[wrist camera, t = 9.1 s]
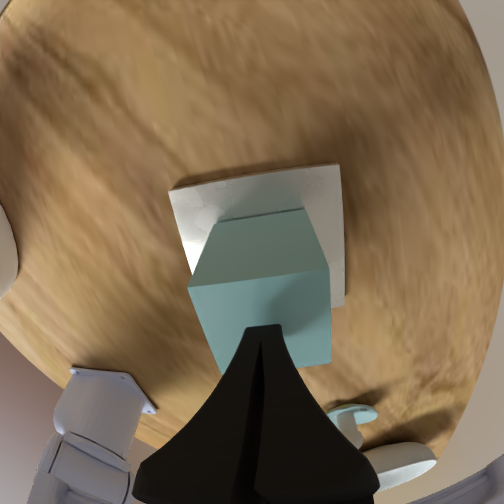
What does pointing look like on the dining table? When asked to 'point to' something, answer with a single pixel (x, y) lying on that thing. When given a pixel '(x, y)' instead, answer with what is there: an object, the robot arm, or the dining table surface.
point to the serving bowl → (400, 462)
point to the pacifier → (352, 420)
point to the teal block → (264, 286)
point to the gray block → (267, 209)
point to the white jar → (7, 255)
